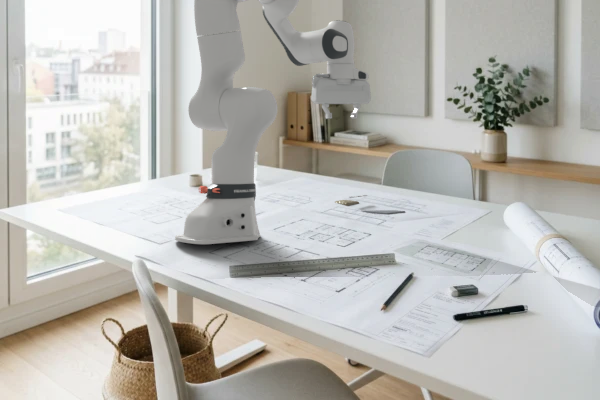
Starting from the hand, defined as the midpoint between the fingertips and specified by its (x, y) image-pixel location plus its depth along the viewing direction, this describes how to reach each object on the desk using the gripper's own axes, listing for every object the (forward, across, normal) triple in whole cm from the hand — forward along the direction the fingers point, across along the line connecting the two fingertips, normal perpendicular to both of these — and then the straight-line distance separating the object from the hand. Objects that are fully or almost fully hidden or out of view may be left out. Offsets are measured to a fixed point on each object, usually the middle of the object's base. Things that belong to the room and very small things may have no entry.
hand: (341, 118), depth 192 cm
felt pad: (+30, +7, -12) cm, 33 cm away
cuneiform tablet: (+27, +5, -3) cm, 28 cm away
